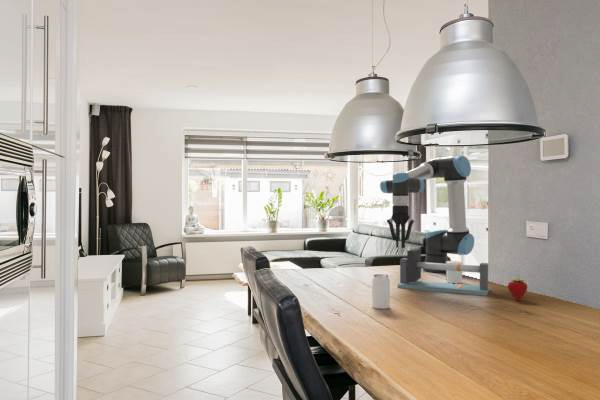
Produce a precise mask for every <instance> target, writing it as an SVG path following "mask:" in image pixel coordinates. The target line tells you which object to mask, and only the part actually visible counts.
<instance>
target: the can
mask: <svg viewBox="0 0 600 400" xmlns="http://www.w3.org/2000/svg"><path fill="white" fill-rule="evenodd" d="M371 282H372V283H371V289H372V290H371V297H372V298H371V301H372V302H371V305H372V308H373V309H377V310H388V309H389V308H390V305H391V301H390V300H391V296H390V295H391V292H390V291H391V290H390V287H391V285H390V277H389V274H383V273H382V274H381V273H379V274H377V273H376V274H373V277H372V280H371Z"/></svg>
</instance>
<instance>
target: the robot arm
mask: <svg viewBox="0 0 600 400" xmlns="http://www.w3.org/2000/svg"><path fill="white" fill-rule="evenodd" d="M471 170H472V167H471V162H470V161H469V159H468V158H467V157H466V156H465V155H458V154H456V155H448V156H447V155H446V156H438V157H434V158H431V159H429V160H426V161H424V162H422V163H420V164H419V166H417V167H415V168H413V169H410V170H407V171H406V172H395V173H393V174H392V177H391V178H390V177H389V178H384V179H382V180H381V181H380V184H379V187H380V188H379V189H380V191H381V192H382V193H384V194H392V205H393V206H392V214H391V218H389V219H386V222H387V223H388V226H389V230H390V233H391V239H392V240H394V241H396V242H395V245H396V246H395V247H396V248H397V250H398V251H397V255H398V256H403V255H404V249H405V247H406V241H408V240H409V239H410V235H411V231H412V228H413V224H414V223H415V220H414V219H413V218H410V213H409V212H410V211H409V209H410V208H409V203H410V197H409V195H410V194H419V193H422V192H423V191H424V189H425V186H426V185H425V181H424V180H430V179H435V178H436V179H439V178H442V179H443V178H444V179H443V181H444V183H445V184H446V186H447V205H448V223H449V224H448V225H449V228H447V229H440V230H430V231H429V230H428V231H427V232H426V233H425V234H426V235H425V259H424V261H423V262H428V263H444V264H446V261H449V259H448V254H449V255H450V254H451V255H459V256H467V255H469V254H471V252H472V251H473V249H474V246H475V237H474V235H473V234H472V233H470V229H469V228H468V227H467V219H466V218H467V217H466V200H465V199H466V197H465V196H466V195H465V182H466V181H467V179H468V177H469V176H470V175H471ZM393 222H394V224H395V228H394V224H393ZM407 223H408V226H407V229H406V225H407ZM422 271H424V272H429V273H446V270H434V269H422Z"/></svg>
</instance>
